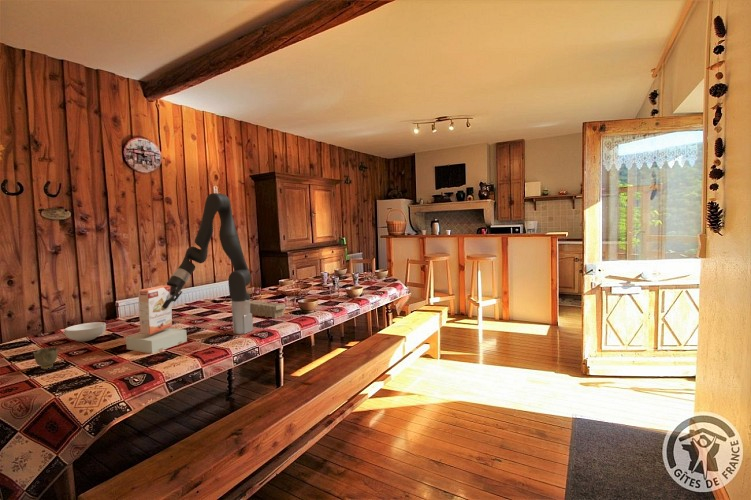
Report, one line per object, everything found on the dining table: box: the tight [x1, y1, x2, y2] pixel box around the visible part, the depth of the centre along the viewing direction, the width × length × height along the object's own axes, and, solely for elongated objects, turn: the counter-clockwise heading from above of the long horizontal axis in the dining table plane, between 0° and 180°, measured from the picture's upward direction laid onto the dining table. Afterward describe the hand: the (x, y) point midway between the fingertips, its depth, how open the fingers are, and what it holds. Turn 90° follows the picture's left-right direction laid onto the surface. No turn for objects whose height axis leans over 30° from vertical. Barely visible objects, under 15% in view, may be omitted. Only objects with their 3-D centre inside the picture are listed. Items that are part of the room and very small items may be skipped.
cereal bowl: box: [64, 321, 107, 343], centre depth 188 cm, size 17×17×7 cm
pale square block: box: [125, 327, 188, 355], centre depth 175 cm, size 18×18×6 cm
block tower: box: [250, 299, 287, 319], centre depth 230 cm, size 8×8×29 cm
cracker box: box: [138, 284, 173, 334], centre depth 174 cm, size 14×6×21 cm, turn 168°
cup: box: [32, 346, 58, 370], centre depth 149 cm, size 8×7×8 cm
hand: (159, 307), depth 176 cm, fingers closed on cracker box, 6 cm apart
